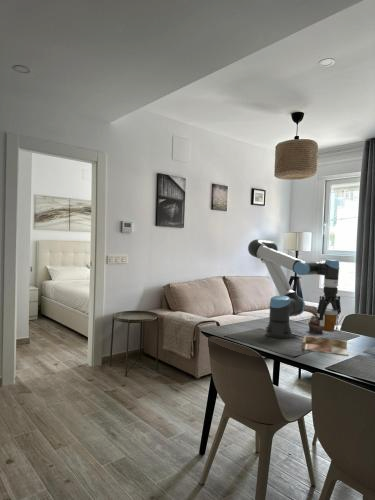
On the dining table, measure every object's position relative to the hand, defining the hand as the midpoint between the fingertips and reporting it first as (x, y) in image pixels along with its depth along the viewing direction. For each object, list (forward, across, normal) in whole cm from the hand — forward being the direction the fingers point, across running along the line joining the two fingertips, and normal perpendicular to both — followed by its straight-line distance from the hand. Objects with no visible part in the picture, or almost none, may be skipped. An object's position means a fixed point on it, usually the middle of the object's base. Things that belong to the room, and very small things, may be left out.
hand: (328, 325), depth 205 cm
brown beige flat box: (+9, -14, -12) cm, 20 cm away
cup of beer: (+3, 0, 0) cm, 3 cm away
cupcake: (+10, +12, +21) cm, 26 cm away
